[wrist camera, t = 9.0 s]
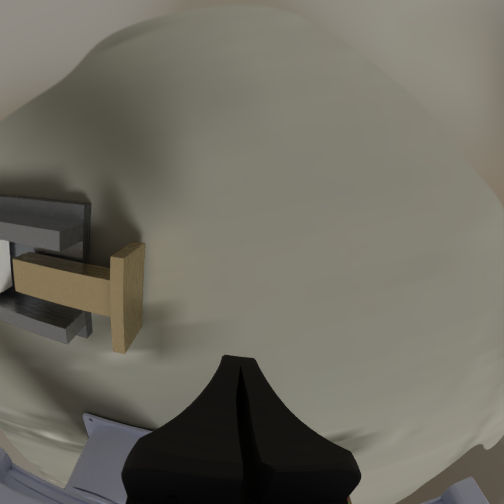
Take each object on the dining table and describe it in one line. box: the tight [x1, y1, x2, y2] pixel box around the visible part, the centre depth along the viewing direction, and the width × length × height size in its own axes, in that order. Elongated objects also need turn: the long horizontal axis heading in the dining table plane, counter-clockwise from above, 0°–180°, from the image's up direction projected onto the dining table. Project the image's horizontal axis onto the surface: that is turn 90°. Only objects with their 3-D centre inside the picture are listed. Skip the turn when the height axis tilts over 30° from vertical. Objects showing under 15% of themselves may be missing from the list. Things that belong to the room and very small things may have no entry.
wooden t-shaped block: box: [13, 241, 145, 354], centre depth 17 cm, size 10×6×4 cm, turn 81°
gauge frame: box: [0, 195, 92, 344], centre depth 16 cm, size 12×10×5 cm
